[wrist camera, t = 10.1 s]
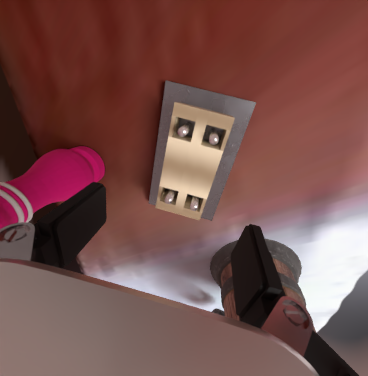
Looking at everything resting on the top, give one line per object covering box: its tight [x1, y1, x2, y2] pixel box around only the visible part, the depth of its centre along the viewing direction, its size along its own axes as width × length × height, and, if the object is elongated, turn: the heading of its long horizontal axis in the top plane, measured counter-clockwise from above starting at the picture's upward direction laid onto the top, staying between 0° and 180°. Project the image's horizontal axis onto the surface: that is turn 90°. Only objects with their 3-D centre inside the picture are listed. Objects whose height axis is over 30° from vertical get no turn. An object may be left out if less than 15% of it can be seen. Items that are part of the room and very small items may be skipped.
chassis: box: [149, 81, 256, 221], centre depth 23 cm, size 18×11×6 cm, turn 168°
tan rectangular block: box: [156, 102, 235, 220], centre depth 23 cm, size 14×7×4 cm, turn 167°
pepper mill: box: [0, 146, 105, 229], centre depth 19 cm, size 7×7×20 cm
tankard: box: [210, 239, 316, 332], centre depth 26 cm, size 24×17×20 cm
